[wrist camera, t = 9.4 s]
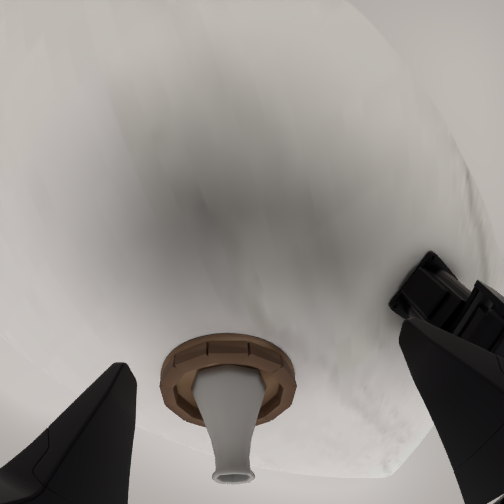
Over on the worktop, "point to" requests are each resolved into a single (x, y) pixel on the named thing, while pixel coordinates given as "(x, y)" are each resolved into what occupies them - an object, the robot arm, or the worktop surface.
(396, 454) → the worktop surface
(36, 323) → the worktop surface
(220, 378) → the flask
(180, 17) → the worktop surface
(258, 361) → the round wooden tray
